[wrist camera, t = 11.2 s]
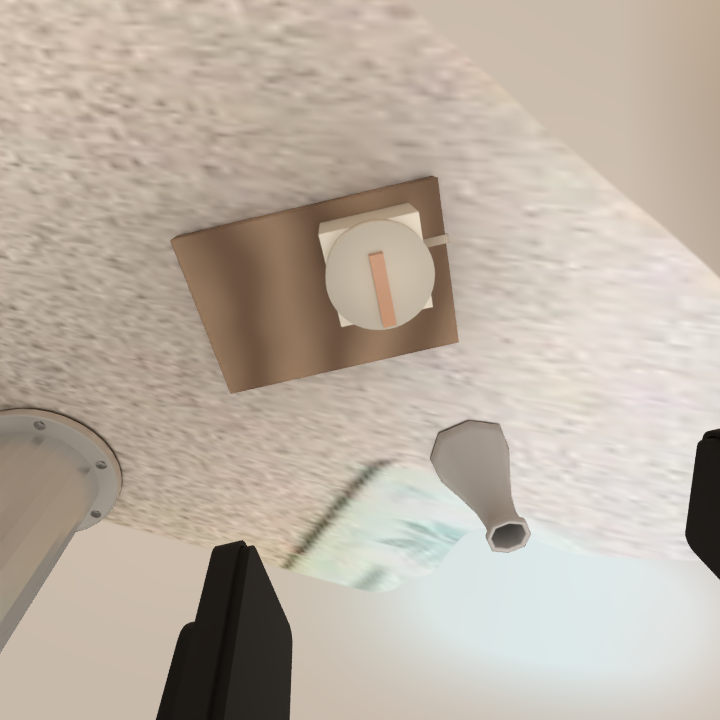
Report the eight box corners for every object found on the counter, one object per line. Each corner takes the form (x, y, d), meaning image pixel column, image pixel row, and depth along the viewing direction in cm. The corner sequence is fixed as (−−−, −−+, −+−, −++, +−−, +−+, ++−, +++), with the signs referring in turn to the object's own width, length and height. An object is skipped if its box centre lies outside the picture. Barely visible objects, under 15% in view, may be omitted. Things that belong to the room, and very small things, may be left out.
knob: (316, 220, 30) (312, 239, 25) (410, 198, 30) (428, 212, 25) (338, 309, 33) (339, 343, 28) (425, 290, 33) (443, 321, 28)
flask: (431, 488, 43) (460, 579, 34) (427, 424, 40) (458, 506, 31) (506, 477, 44) (555, 564, 35) (508, 413, 40) (562, 491, 31)
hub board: (234, 383, 37) (221, 418, 32) (177, 235, 32) (152, 252, 27) (455, 333, 37) (475, 361, 32) (434, 175, 31) (454, 181, 27)
